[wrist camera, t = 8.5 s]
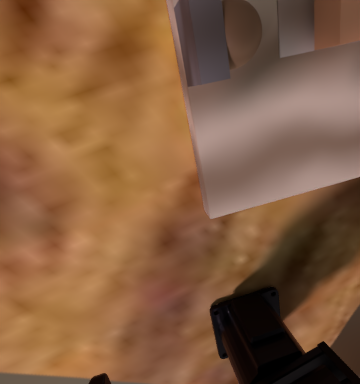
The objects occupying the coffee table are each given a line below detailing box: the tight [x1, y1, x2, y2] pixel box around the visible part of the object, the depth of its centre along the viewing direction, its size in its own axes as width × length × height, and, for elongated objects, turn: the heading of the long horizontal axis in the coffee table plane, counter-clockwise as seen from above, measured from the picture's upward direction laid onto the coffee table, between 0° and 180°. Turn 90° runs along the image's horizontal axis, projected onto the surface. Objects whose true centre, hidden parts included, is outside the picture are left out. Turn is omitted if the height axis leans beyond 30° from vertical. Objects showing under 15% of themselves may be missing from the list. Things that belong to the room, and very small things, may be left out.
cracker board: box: [166, 0, 360, 219], centre depth 16 cm, size 18×19×5 cm
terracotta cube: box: [314, 0, 360, 50], centre depth 15 cm, size 3×2×2 cm, turn 11°
